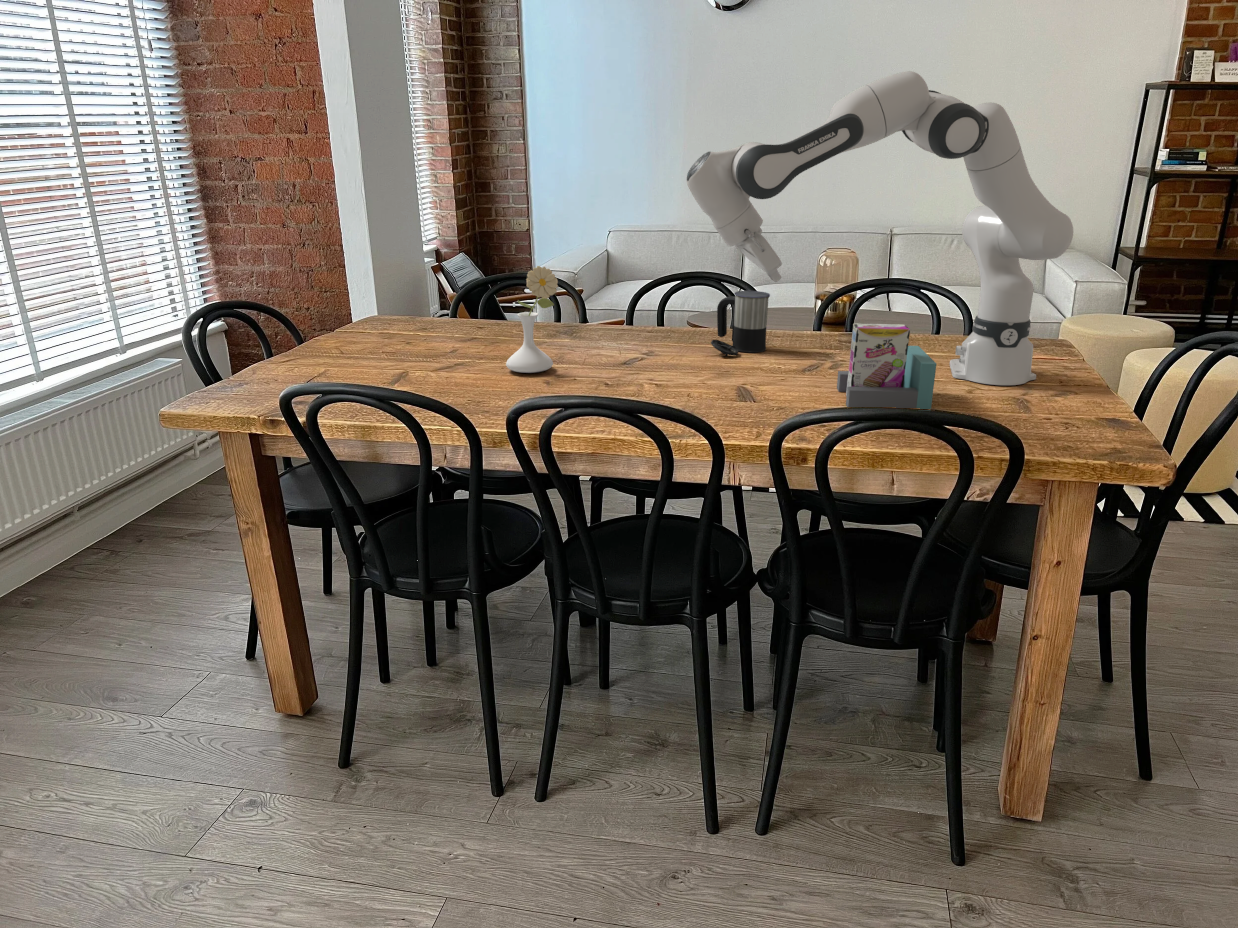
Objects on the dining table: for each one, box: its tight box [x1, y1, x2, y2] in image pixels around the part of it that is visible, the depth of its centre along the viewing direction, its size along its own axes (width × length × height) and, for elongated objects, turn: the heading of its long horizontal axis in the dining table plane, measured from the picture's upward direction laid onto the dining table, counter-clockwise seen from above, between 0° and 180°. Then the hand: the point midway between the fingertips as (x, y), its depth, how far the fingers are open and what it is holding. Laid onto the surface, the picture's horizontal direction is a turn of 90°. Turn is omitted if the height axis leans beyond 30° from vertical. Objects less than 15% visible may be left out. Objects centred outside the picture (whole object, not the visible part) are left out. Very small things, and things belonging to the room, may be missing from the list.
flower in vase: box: [505, 265, 559, 374], centre depth 218 cm, size 13×11×25 cm
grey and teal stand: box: [836, 345, 937, 410], centre depth 197 cm, size 16×17×10 cm
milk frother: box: [710, 290, 771, 357], centre depth 238 cm, size 14×16×15 cm
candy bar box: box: [845, 323, 911, 397], centre depth 195 cm, size 11×5×16 cm, turn 87°
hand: (777, 279), depth 195 cm, fingers closed
